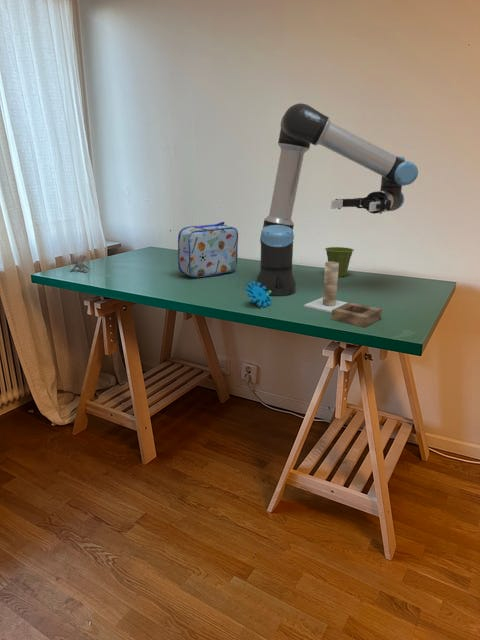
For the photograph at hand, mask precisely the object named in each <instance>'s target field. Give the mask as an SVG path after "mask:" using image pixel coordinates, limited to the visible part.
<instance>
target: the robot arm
mask: <svg viewBox="0 0 480 640" xmlns="http://www.w3.org/2000/svg"><path fill="white" fill-rule="evenodd" d="M278 136H279V137H278V143H277V145H278V146H279V148H280V154H279V158H278V159H279V160H278V164H277V171H276V174H275V175H276V176H275V182H274V186H273V192H272V197H271V201H270V202H271V204H270V207H269V208H270V209H269V212H268V216H266V217H265V218H264V221H263V225H262V229H261V231H260V232H261V233H260V239H259V243H260V268H259V269H260V271H259V273H258V276H257V278H256V281H255V286H257V285H256V284H257V283H258V282H259V283H261V285H260V286H259V287H260V288H262V287H263V286H265V287H266V289H265V290H264V291H269V290H271V293H270V295H269V296H275V297H276V296H278V297H279V296H289V295H292V294H294V293H296V292H297V291H296V290H297V284H296V281H295V277H294V273H293V257H294V256H293V254H294V240H295V239H294V238H295V235H294V225H295V224H294V222H293V220H292V216H293V210H294V206H295V202H296V201H295V200H296V195H297V192H298V186H299V180H300V175H301V171H302V165H303V162H304V156H305V153H306V152H308V151H309V150H310V147H311V145H314V146H318V145H320V146H322V147H324V148H326V149H328V150H330V151H332V152H334V153H335V154H338V155H340V156H342V157H344V158H346V159H348V160H350V161H352V162H354V163H356V164H358V165H360V166H361V167H364V168H366V169H368V170H369V171H370V172H374V173H375V174H377V175H380V176H381V181H380V190H379V191H372V192H370V193H368V194H367V195H366V196H365V197H355V198H335V199H332V200H331V204H330V205H331V207H330V209H331V210H334V209H337V210H341V209H342V208H354V207H355V208H356V209H365V210H366V211H367V212H368V213H370V214H379V215H381V214H383V213H386V212H394V211H397V210H399V209H400V208H401V207H402V206H403V205H404V202H405V195H404V193H403V192H402V189H403V186H409V185H411V184H413V183H414V182H415V181H416V179H417V177H418V174H419V169H418V167H417V165H416V164H415V163H414V162H412V161H407V160H406V157H404V156H396V155H395V154H393V153H391V152H389V151H387V150H385V149H384V148H381V147H379V146H377V145H376V144H373V143H372V142H370V141H367V140H365V139H364V138H362V137H360V136H358V135H356V134H355V133H352V132H350V131H348V130H347V129H345V128H342V127H341V126H339V125H337V124H335V123H334V122H332V121H331V119H330V117H329V116H327V115H325V114H324V113H321V112H320V111H318V110H317V109H315V108H313V107H312V106H311V105H309V104H306V103H295V104H293V105H291V106H290V107H289V108H288V109H287V110H286V111H285V112H284V115H283V116H282V118H281V121H280V131H279V135H278Z"/></svg>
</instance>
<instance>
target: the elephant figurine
mask: <svg viewBox="0 0 480 640" xmlns="http://www.w3.org/2000/svg"><path fill="white" fill-rule="evenodd" d="M86 258H87V255H84V256H83V257H82V258H81V259H80V260H79V258H78V256H77V257H75V258H73V259H72V261H71V262H70V265H74V266H73V268H72V269H70V271H69V272H70V273H72V272H73V271H74V270H75V269H76V268H78V269H79V270H82V271H83V272H84V273H86V274H88V272H89V271H90V270H91V268H90V267H89V266H87V265H86V264H85V263H84V262H83V261H84V260H85V259H86Z"/></svg>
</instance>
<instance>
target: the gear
mask: <svg viewBox="0 0 480 640" xmlns="http://www.w3.org/2000/svg"><path fill="white" fill-rule="evenodd" d="M255 285H257V286H255ZM260 285H261V283H259V282H258V283H257V284H256V281H254V280H253V281H251V282H248V283H247V285H246V286H247V287H246V288H245V291H246V292H247V294H246V295H247V297H248V298H251V299H250V300H249V301H248V302H249V303H250V304H252V303H253V304H254V303H255V302H256V301H257V302H256V305H257V306H258V307H261V306H262V308H266V307H267V306H270V305H271V301H272V299H273V298H272V297H271V295H270V293H271V290H269V291H264V290H265V289H266V287H265V286H263V287H262V288H260V287H259V286H260Z"/></svg>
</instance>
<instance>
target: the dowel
mask: <svg viewBox="0 0 480 640" xmlns="http://www.w3.org/2000/svg"><path fill="white" fill-rule="evenodd" d="M338 270H339V263H338V262H328V261H325V263H324V276H323V291H322V297H323V305H325V306H335V305H336V300H337V298H338V297H337V294H338V283H339V281H338V280H339V277H338Z"/></svg>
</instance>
